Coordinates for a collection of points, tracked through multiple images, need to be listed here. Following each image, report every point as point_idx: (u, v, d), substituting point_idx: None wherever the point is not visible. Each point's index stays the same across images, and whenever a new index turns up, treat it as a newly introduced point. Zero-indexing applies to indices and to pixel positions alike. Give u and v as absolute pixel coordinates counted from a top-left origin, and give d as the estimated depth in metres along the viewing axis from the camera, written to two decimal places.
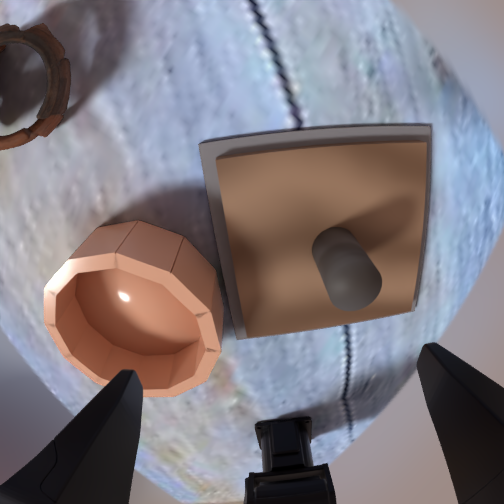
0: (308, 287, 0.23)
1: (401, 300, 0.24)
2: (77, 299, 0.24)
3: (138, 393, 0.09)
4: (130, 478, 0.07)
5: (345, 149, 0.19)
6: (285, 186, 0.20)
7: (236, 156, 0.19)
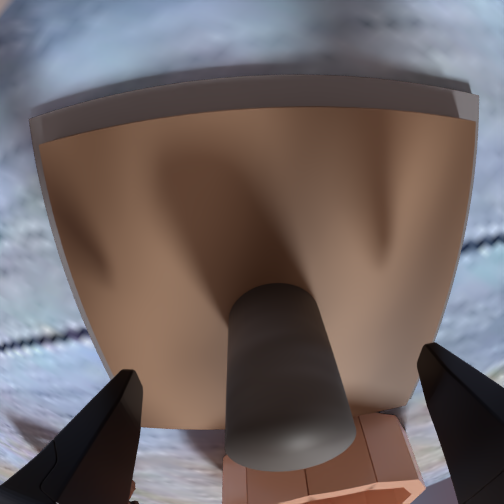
0: (347, 352, 0.12)
1: (444, 151, 0.09)
2: None
3: (138, 393, 0.09)
4: (130, 478, 0.07)
5: (89, 305, 0.11)
6: (162, 380, 0.13)
7: None
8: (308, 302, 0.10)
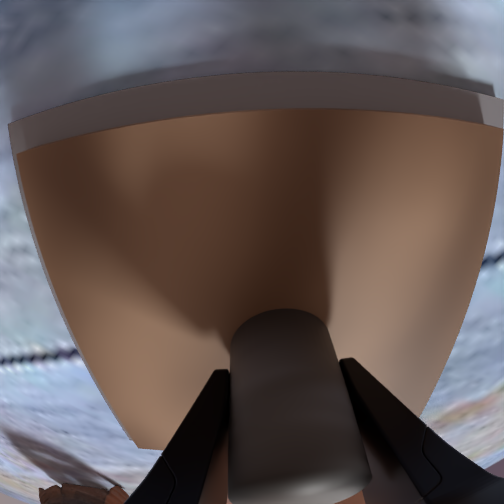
0: None
1: (471, 162, 0.07)
2: None
3: None
4: None
5: (77, 328, 0.10)
6: (159, 405, 0.11)
7: None
8: (319, 330, 0.09)
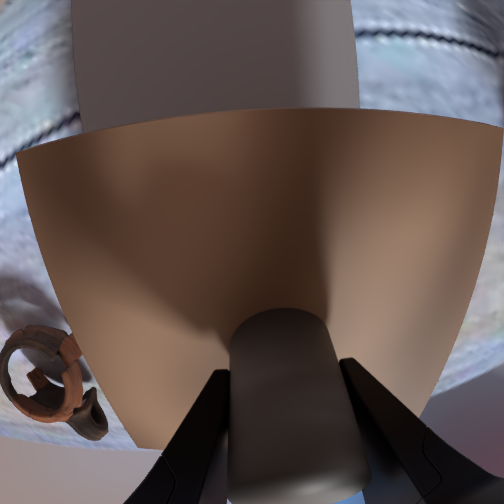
0: None
1: (471, 161, 0.07)
2: None
3: None
4: None
5: (77, 328, 0.10)
6: (159, 405, 0.11)
7: None
8: (319, 329, 0.09)
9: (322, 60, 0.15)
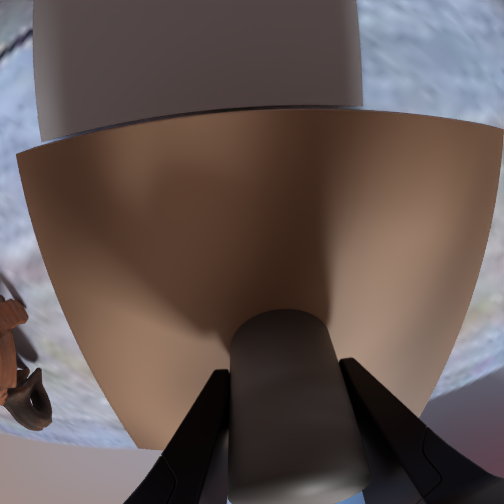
0: None
1: (472, 162, 0.07)
2: None
3: None
4: None
5: (77, 329, 0.10)
6: (159, 406, 0.11)
7: None
8: (319, 330, 0.09)
9: None
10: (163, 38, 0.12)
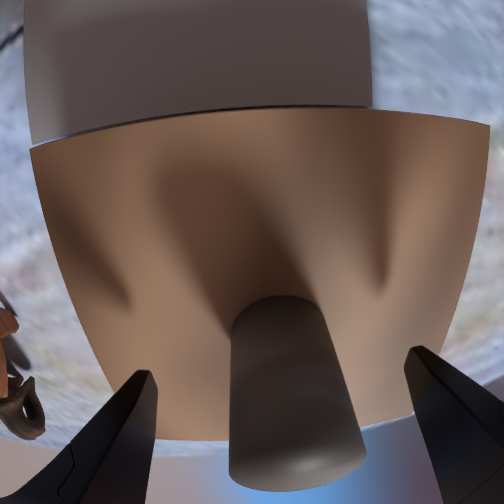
0: (354, 363, 0.11)
1: (458, 156, 0.08)
2: None
3: (153, 394, 0.09)
4: (146, 480, 0.07)
5: (84, 316, 0.10)
6: (162, 393, 0.12)
7: None
8: (315, 315, 0.09)
9: None
10: (159, 33, 0.11)
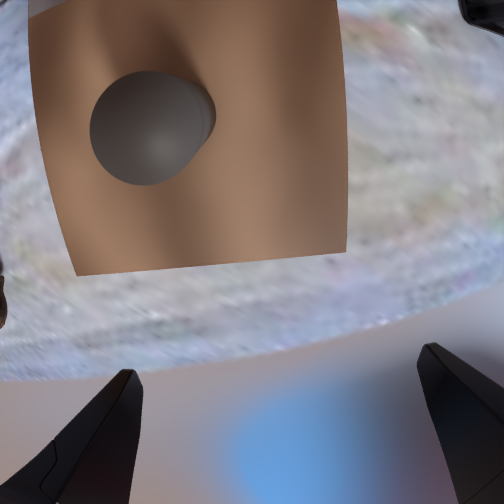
0: (252, 153, 0.13)
1: None
2: None
3: (138, 393, 0.09)
4: (130, 478, 0.07)
5: (41, 127, 0.12)
6: (91, 199, 0.14)
7: None
8: (197, 84, 0.11)
9: None
10: None
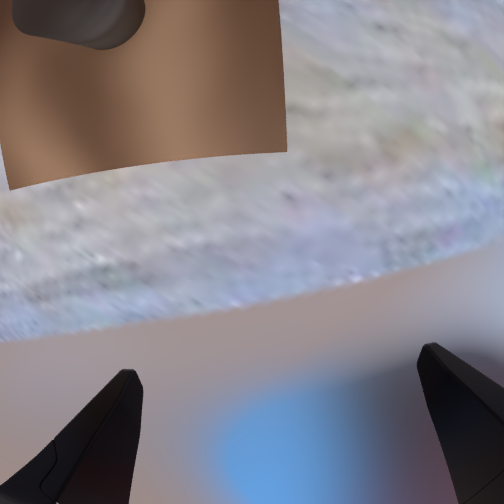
0: (178, 42, 0.11)
1: None
2: None
3: (138, 393, 0.09)
4: (130, 478, 0.07)
5: None
6: (27, 104, 0.11)
7: None
8: None
9: None
10: None
